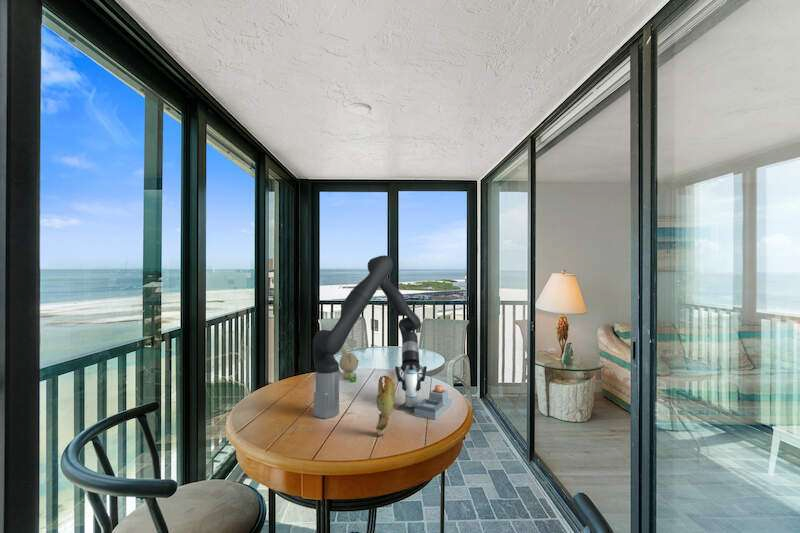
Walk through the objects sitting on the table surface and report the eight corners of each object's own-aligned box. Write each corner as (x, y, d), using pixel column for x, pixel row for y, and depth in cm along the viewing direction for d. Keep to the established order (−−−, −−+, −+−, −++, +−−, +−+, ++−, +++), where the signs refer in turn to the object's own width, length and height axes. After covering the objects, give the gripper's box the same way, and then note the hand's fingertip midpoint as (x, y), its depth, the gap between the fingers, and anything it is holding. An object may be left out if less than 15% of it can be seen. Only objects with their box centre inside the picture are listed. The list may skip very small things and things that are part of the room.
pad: (416, 413, 141) (416, 413, 141) (395, 409, 146) (395, 408, 146) (427, 405, 150) (427, 405, 150) (406, 401, 155) (406, 401, 155)
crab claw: (396, 433, 124) (396, 375, 125) (391, 439, 119) (390, 379, 120) (378, 430, 127) (378, 373, 127) (372, 436, 122) (372, 377, 122)
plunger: (440, 394, 148) (440, 387, 148) (433, 392, 149) (433, 386, 149) (443, 391, 150) (443, 385, 150) (436, 390, 152) (436, 384, 152)
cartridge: (414, 407, 143) (413, 373, 144) (403, 405, 146) (402, 371, 146) (419, 403, 148) (419, 370, 148) (408, 401, 150) (408, 368, 151)
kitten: (363, 380, 186) (363, 352, 187) (346, 383, 181) (346, 354, 182) (352, 374, 199) (351, 347, 200) (335, 376, 194) (335, 349, 194)
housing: (435, 419, 135) (435, 403, 135) (414, 415, 140) (414, 400, 140) (451, 405, 150) (451, 391, 150) (432, 401, 154) (431, 387, 155)
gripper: (394, 349, 155) (393, 385, 143) (426, 349, 155) (429, 385, 142) (394, 358, 160) (394, 394, 148) (426, 358, 160) (428, 394, 148)
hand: (411, 389), depth 145 cm, fingers closed on cartridge, 5 cm apart
